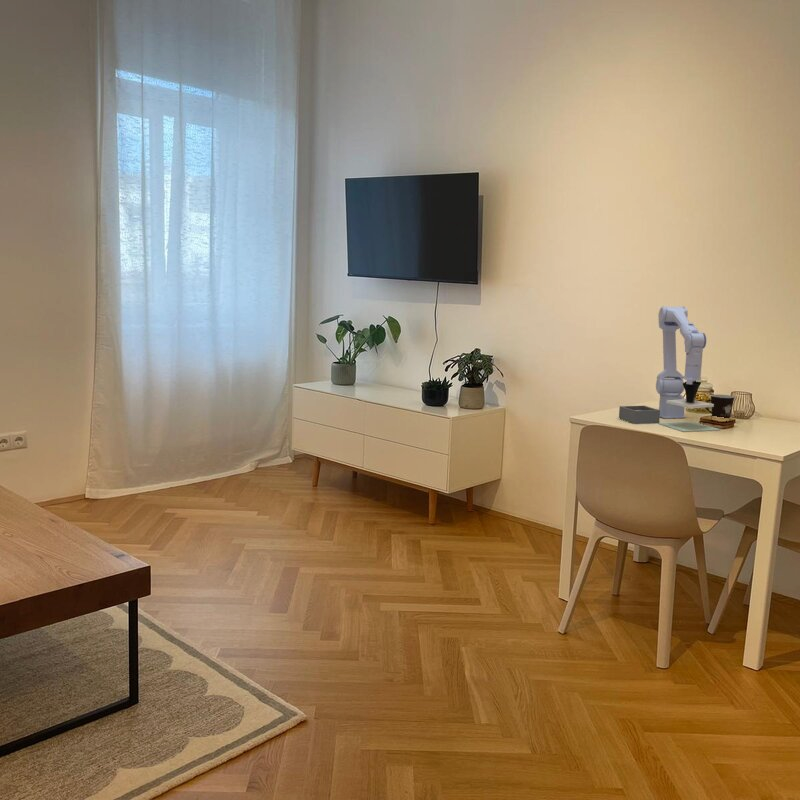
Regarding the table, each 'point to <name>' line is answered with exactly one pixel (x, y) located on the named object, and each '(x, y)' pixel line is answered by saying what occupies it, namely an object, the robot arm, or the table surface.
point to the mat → (689, 426)
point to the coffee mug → (721, 405)
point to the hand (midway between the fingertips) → (690, 401)
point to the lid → (690, 403)
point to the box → (639, 414)
